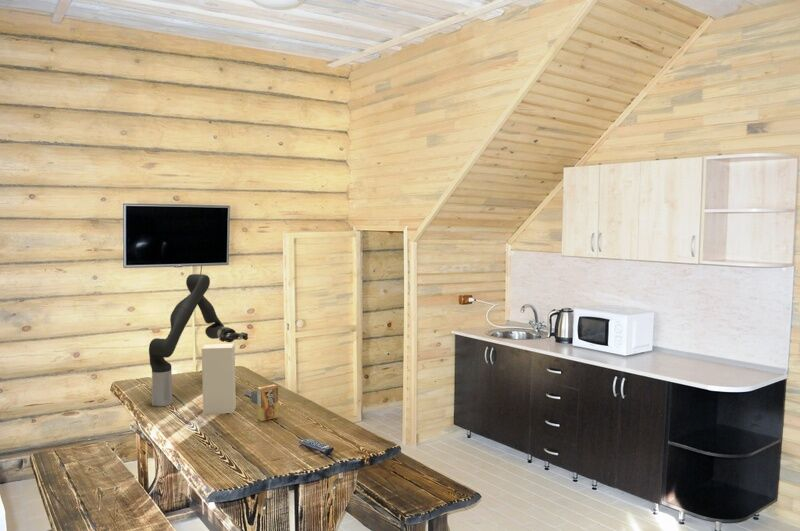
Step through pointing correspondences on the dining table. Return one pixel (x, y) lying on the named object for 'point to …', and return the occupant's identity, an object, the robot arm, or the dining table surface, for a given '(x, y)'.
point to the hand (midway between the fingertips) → (239, 339)
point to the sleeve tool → (252, 395)
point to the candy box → (267, 402)
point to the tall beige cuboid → (218, 378)
